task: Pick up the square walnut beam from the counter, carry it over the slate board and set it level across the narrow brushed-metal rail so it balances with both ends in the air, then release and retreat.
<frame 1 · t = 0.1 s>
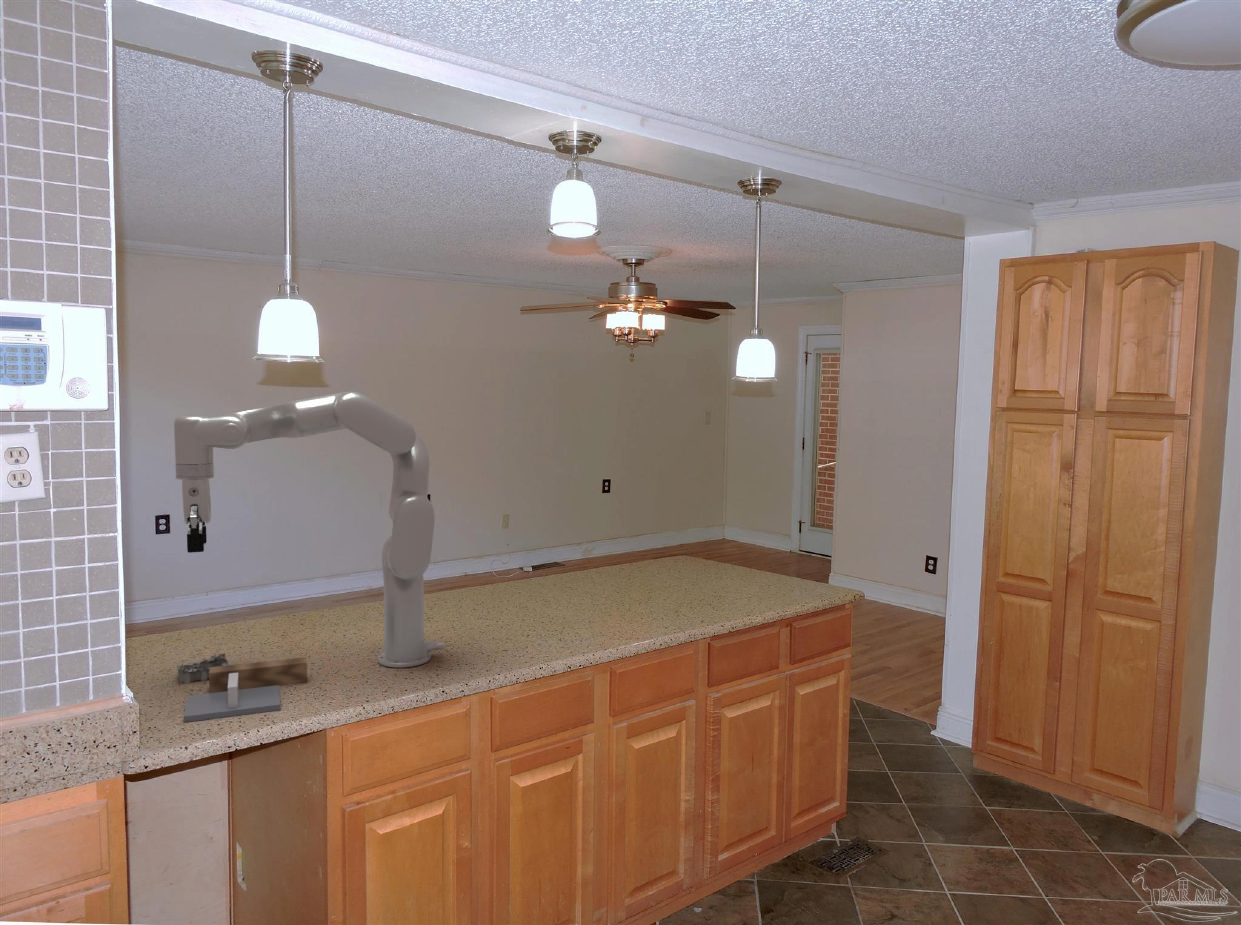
hand: (197, 547, 188), 31 cm above the worktop, fingers open, 9 cm apart
fulcrum board: (233, 705, 179), on the worktop
beam: (259, 686, 191), on the worktop
egg carton: (203, 677, 196), on the worktop
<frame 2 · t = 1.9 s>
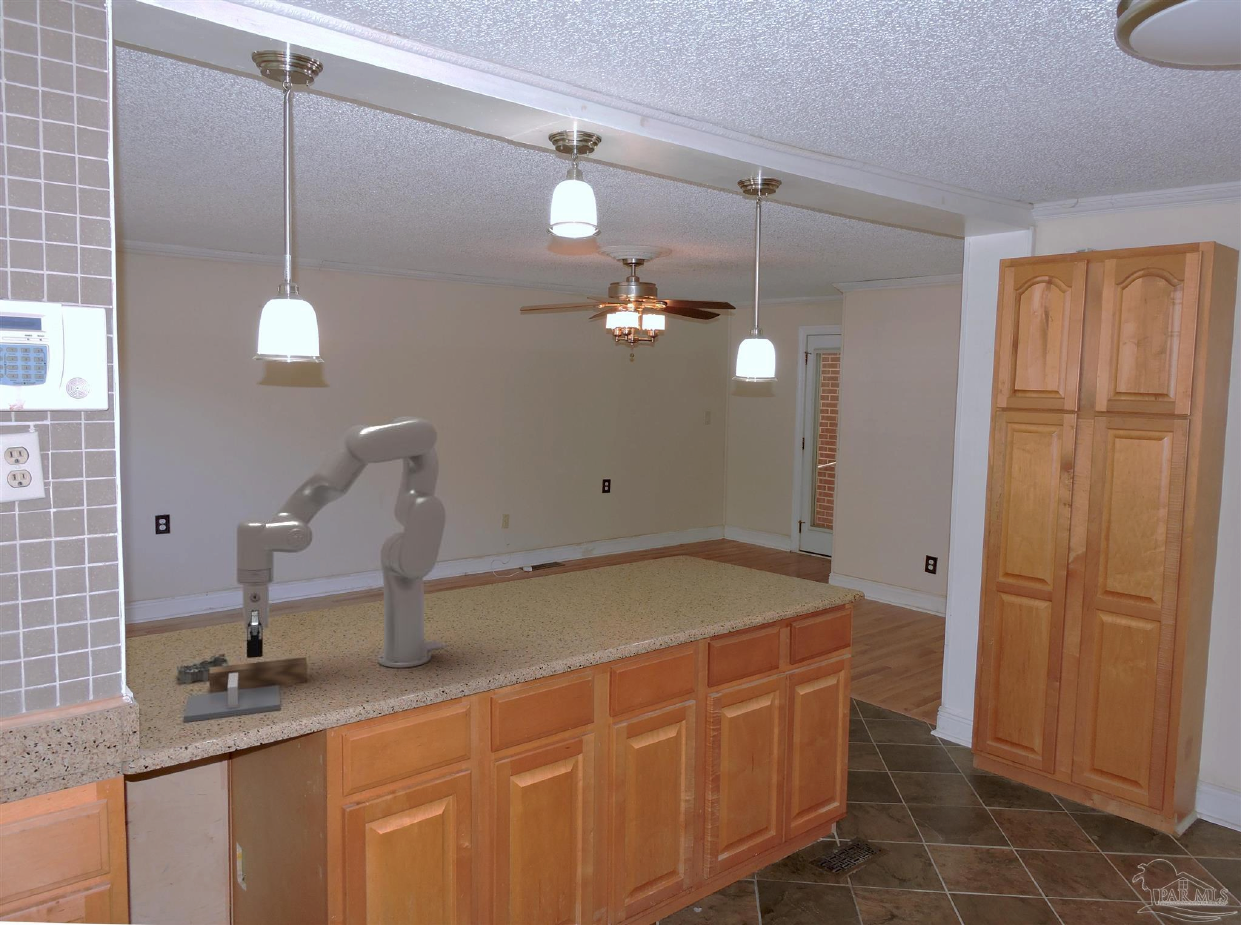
hand: (254, 650, 189), 8 cm above the worktop, fingers open, 9 cm apart
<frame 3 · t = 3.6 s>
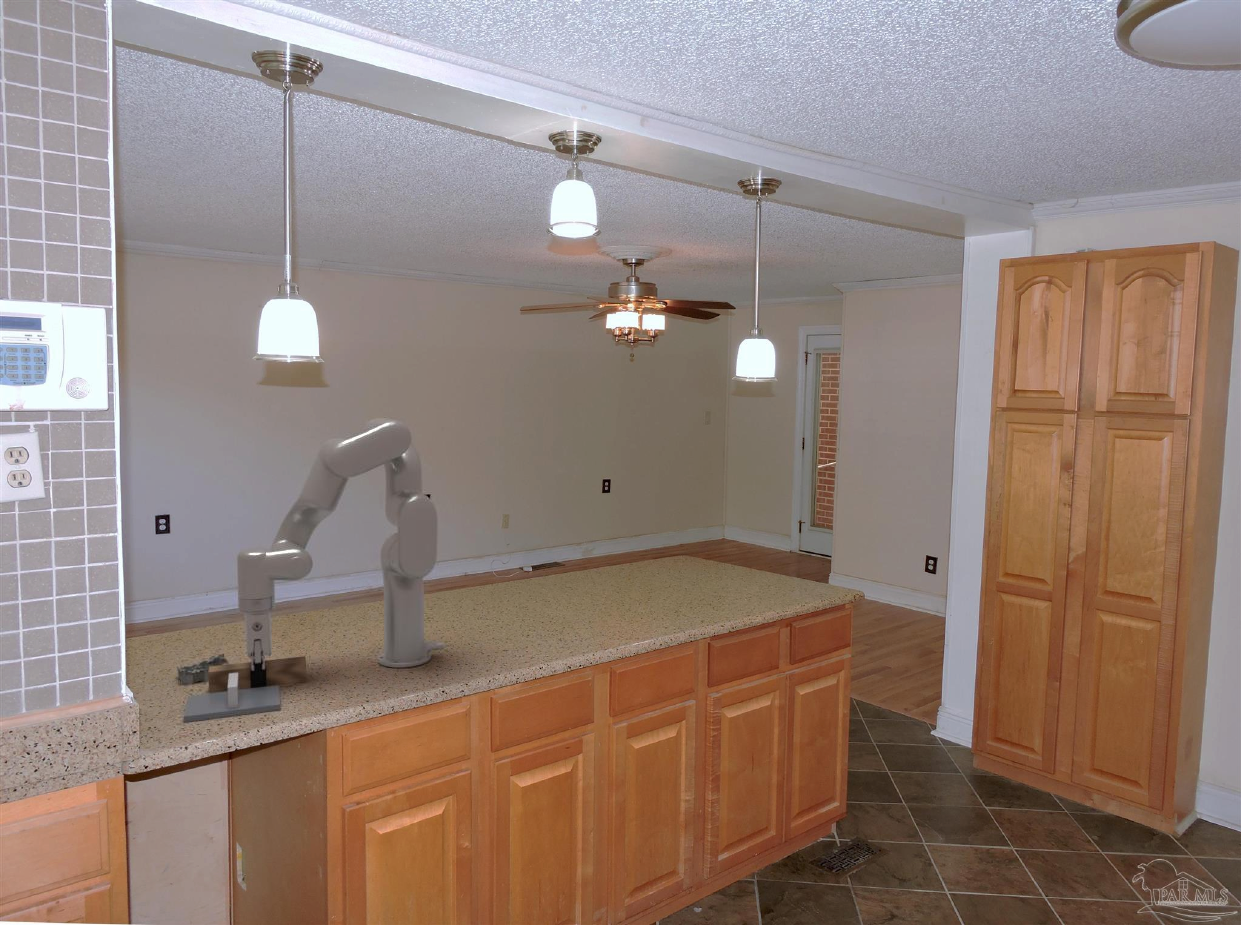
hand: (258, 682, 191), 1 cm above the worktop, fingers closed on beam, 4 cm apart
beam: (258, 685, 191), on the worktop, touching gripper
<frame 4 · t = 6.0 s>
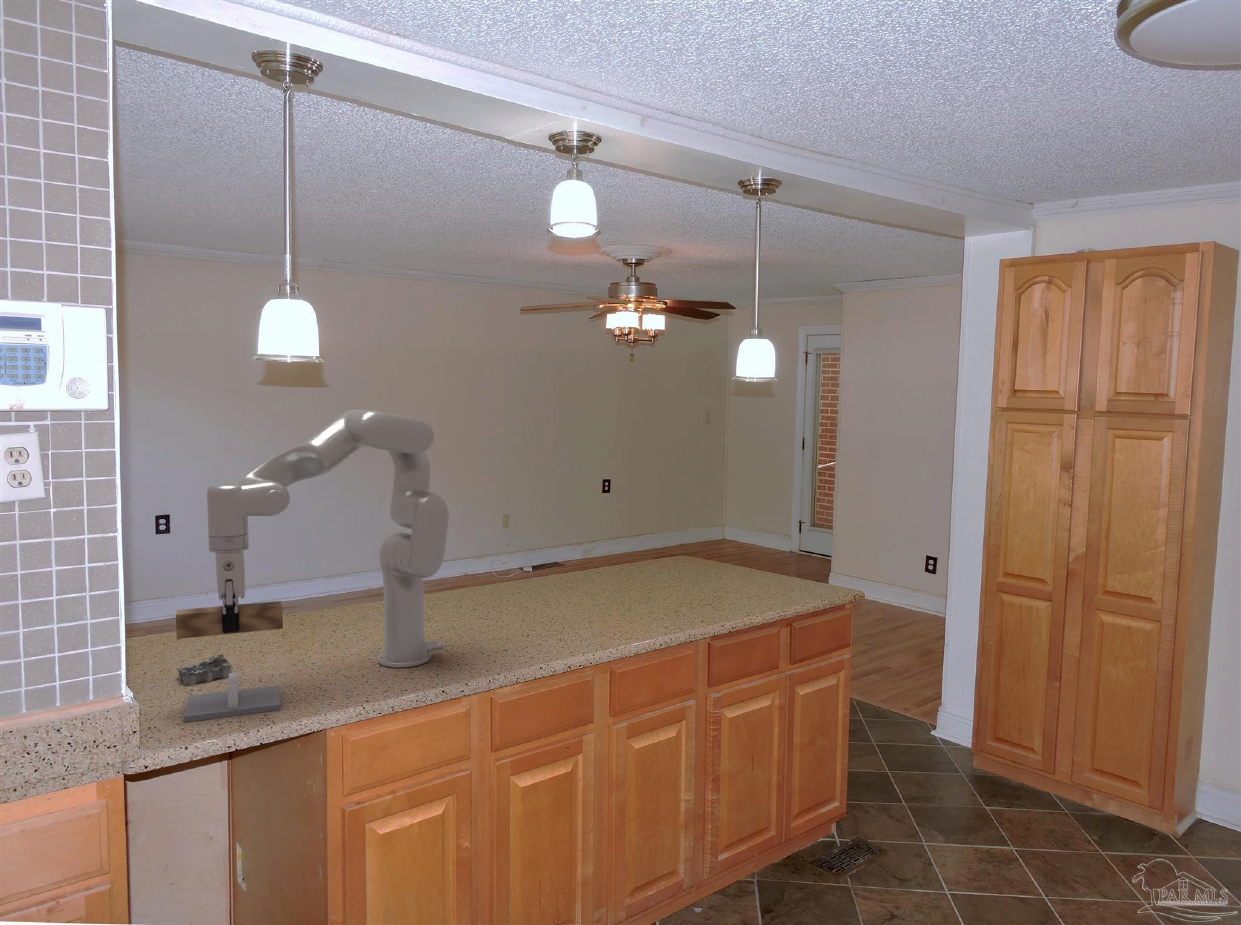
hand: (231, 627, 177), 17 cm above the worktop, fingers closed on beam, 4 cm apart
beam: (231, 630, 177), point 16 cm above the worktop, touching gripper
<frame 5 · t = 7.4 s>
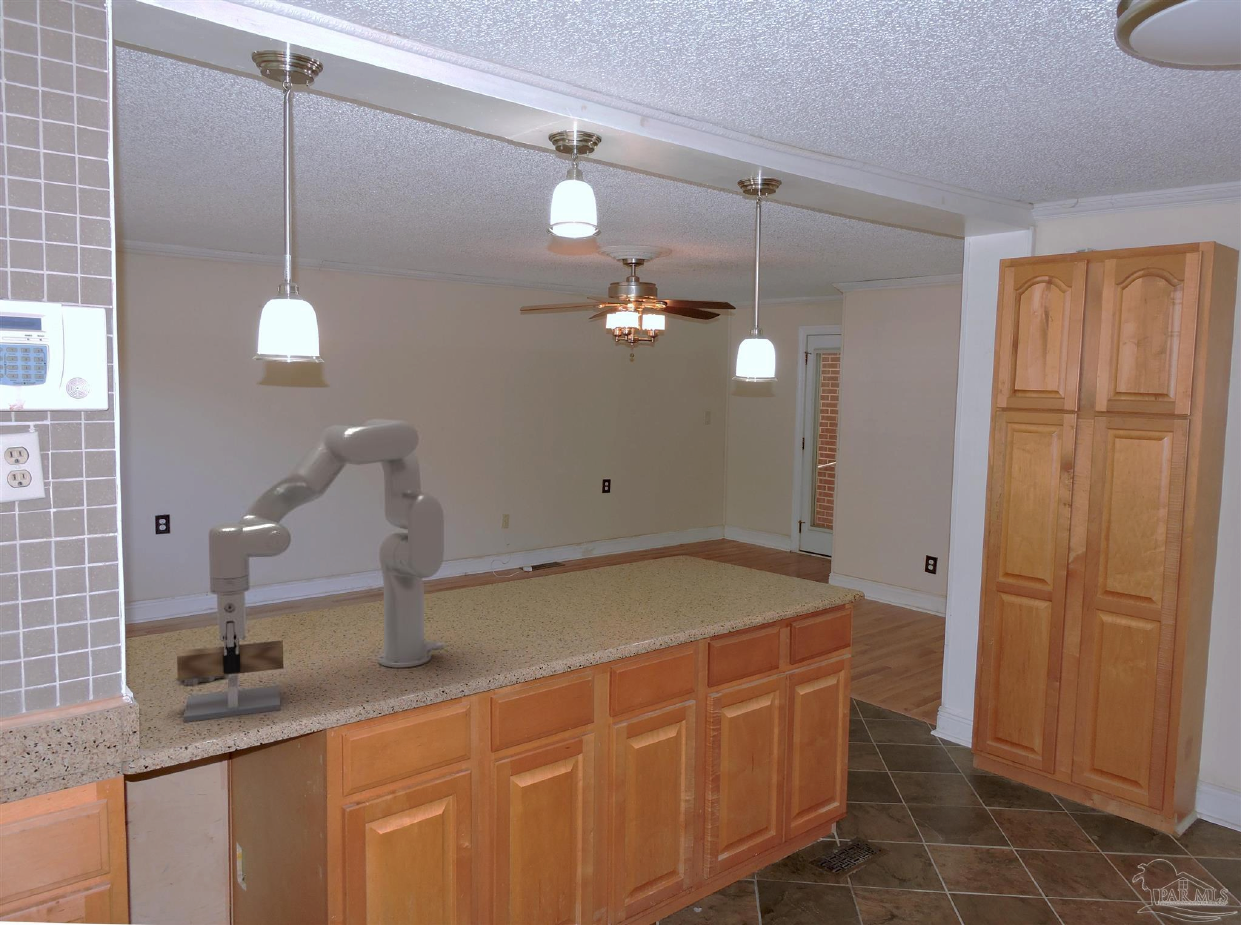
hand: (232, 668, 178), 8 cm above the worktop, fingers closed on beam, 4 cm apart
beam: (232, 671, 178), point 7 cm above the worktop, touching gripper
when the fingers open (7 cm above the worktop, at t = 8.7 s): beam stays where it is, resting on fulcrum board.
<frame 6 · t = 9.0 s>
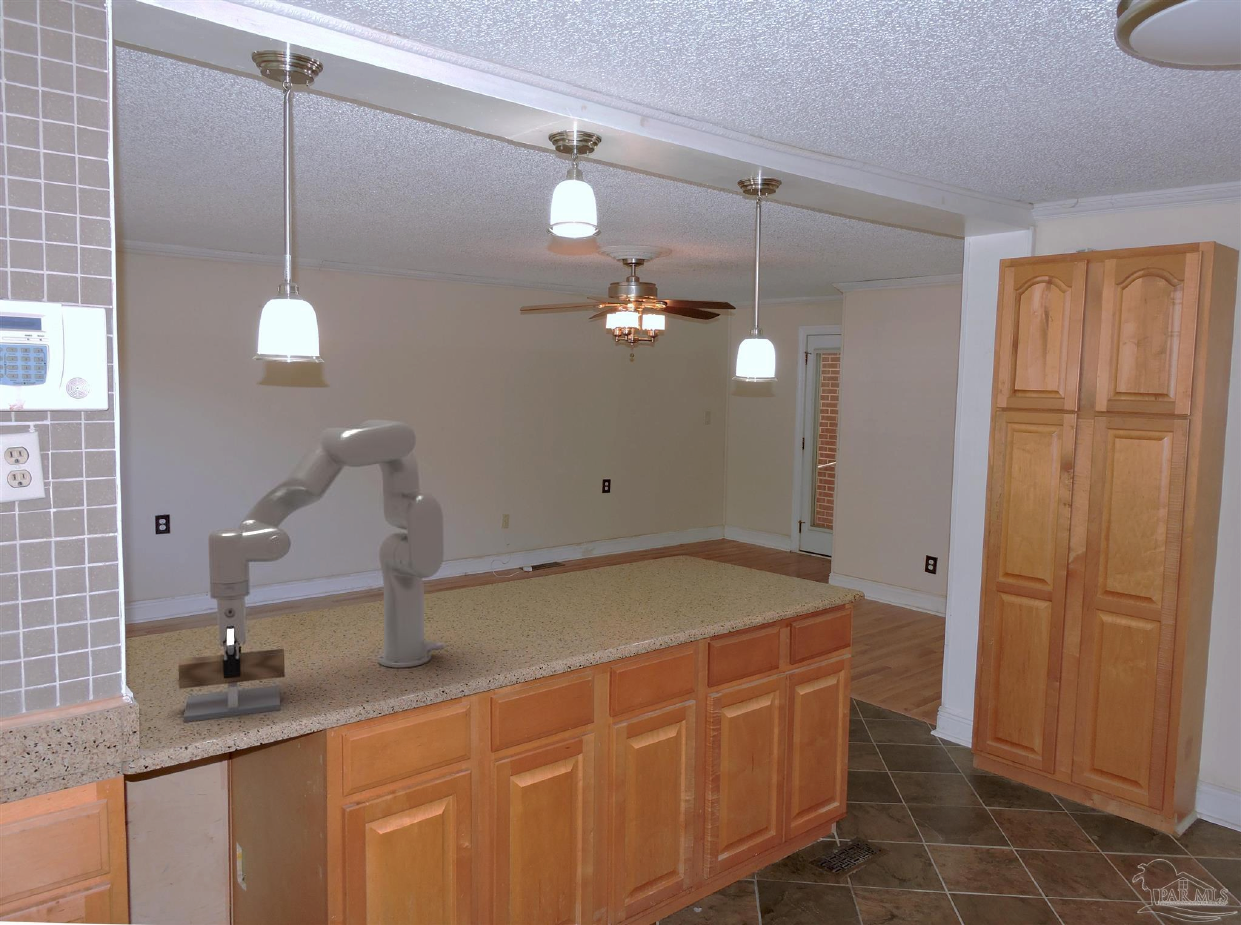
hand: (232, 670, 178), 8 cm above the worktop, fingers open, 7 cm apart
beam: (233, 679, 178), point 6 cm above the worktop, touching fulcrum board
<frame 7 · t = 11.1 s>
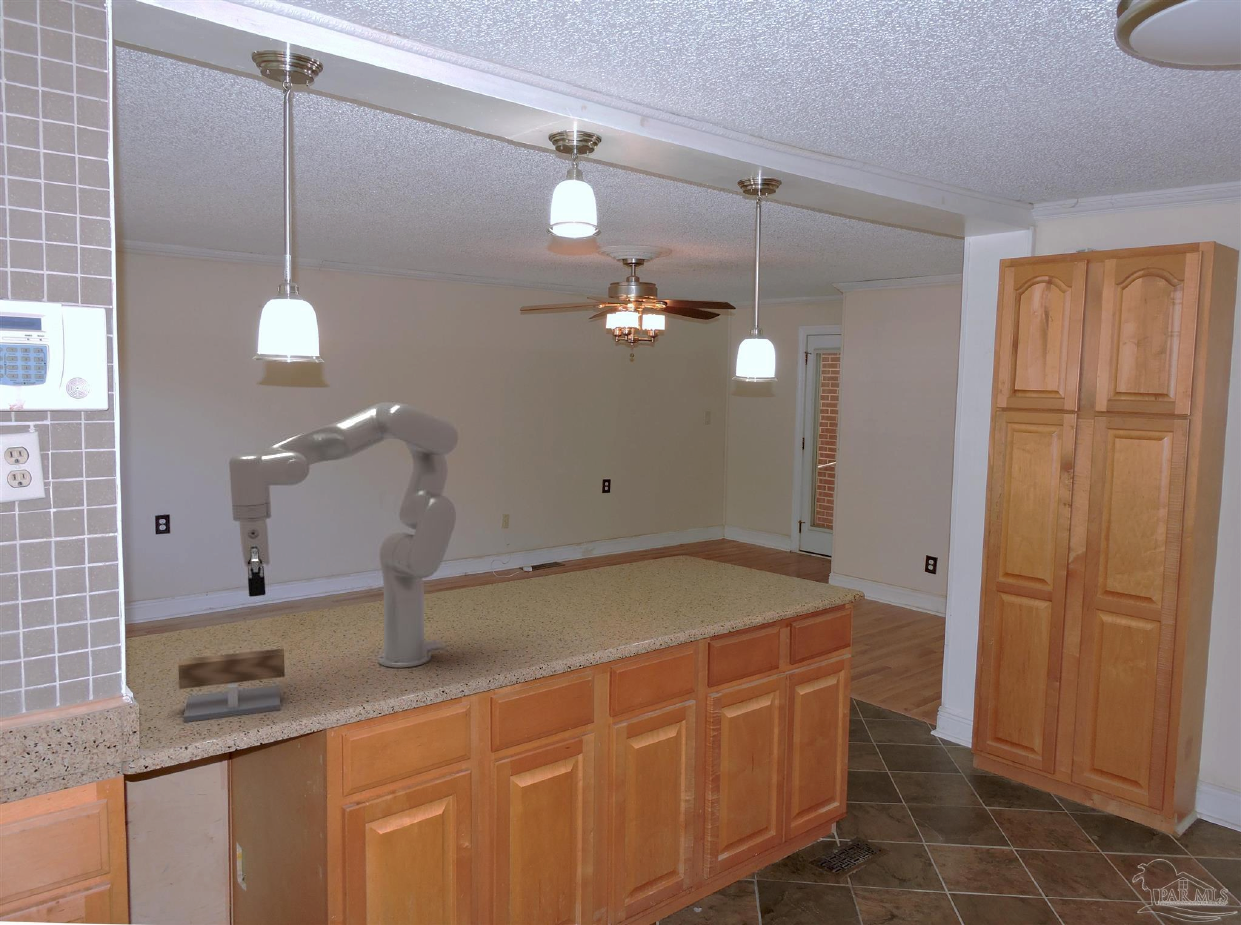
hand: (257, 589, 182), 24 cm above the worktop, fingers open, 9 cm apart
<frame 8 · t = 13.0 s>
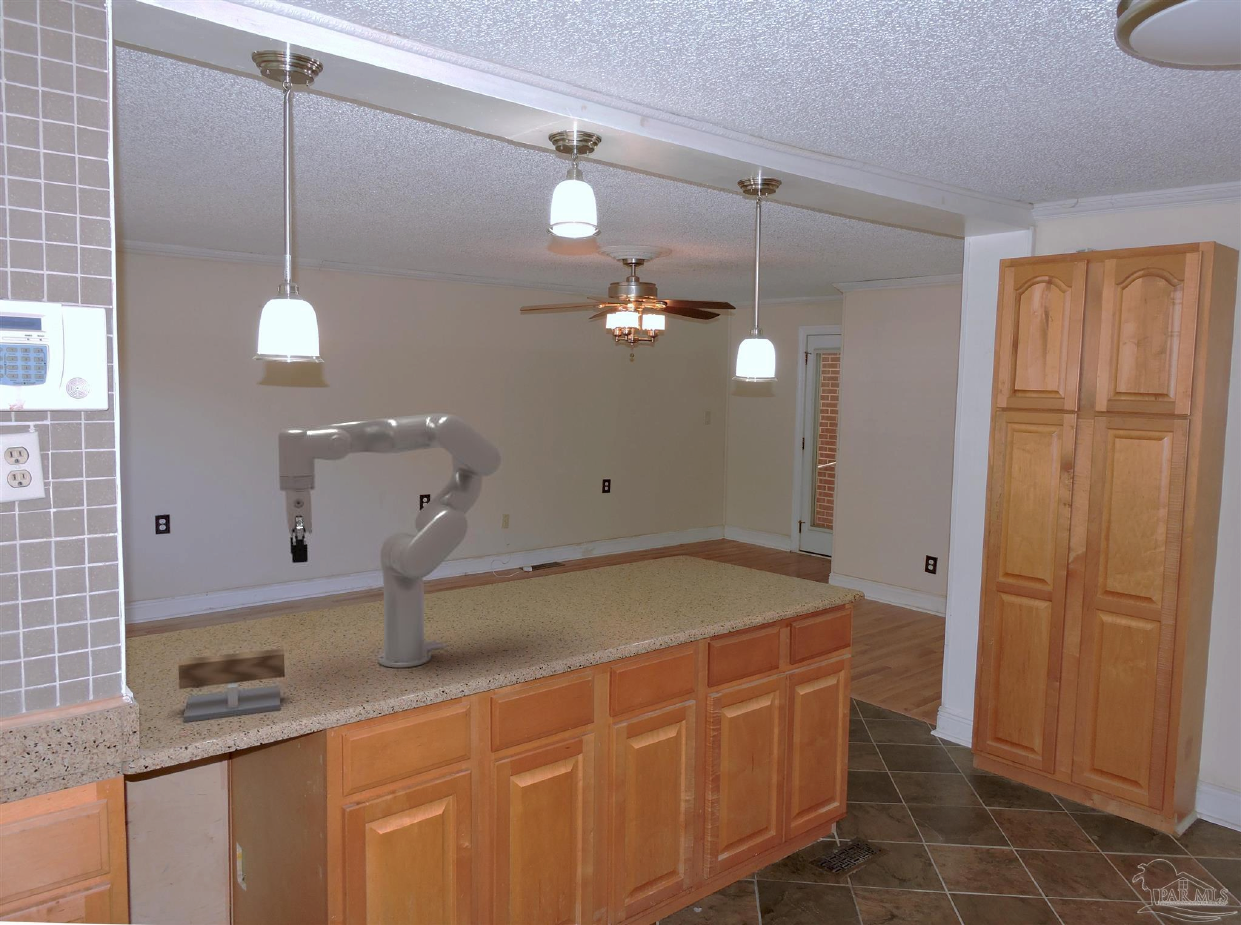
hand: (299, 557, 192), 28 cm above the worktop, fingers open, 9 cm apart
at the end: beam inside the target area on the fulcrum board (0.1 cm from its centre), point 5.6 cm above the fulcrum board's base; beam tilted 0°; the gripper is holding nothing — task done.
